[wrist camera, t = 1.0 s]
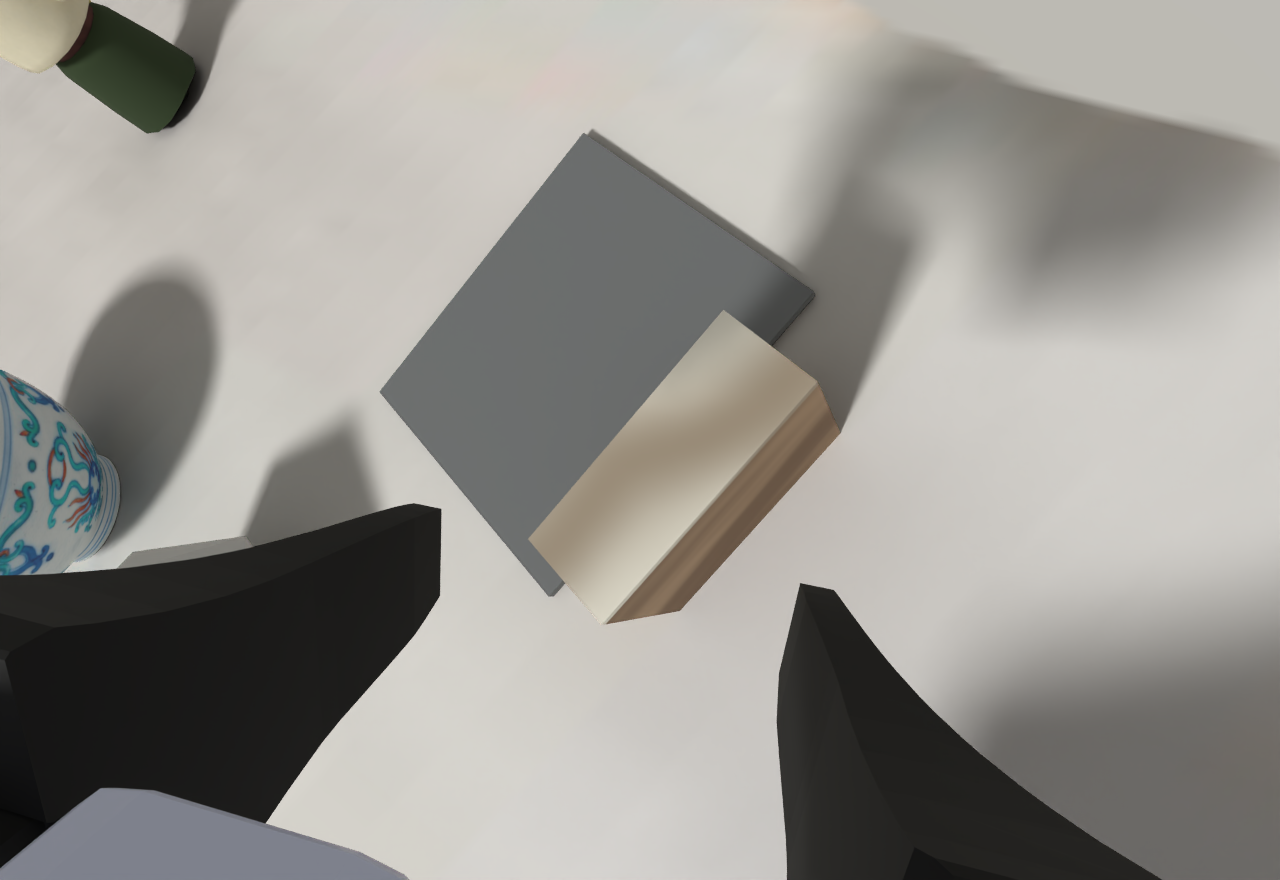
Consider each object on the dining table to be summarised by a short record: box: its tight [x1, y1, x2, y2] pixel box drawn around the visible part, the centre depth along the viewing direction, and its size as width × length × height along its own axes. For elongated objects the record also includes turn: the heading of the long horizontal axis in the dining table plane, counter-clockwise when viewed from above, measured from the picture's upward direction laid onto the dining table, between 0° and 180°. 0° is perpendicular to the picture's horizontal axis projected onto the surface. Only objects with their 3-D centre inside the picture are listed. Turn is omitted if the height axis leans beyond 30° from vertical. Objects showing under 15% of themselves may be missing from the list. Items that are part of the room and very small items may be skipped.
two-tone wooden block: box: [528, 310, 840, 625], centre depth 21 cm, size 4×9×7 cm, turn 137°
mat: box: [380, 133, 815, 596], centre depth 28 cm, size 14×16×1 cm
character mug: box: [0, 0, 196, 133], centre depth 39 cm, size 11×7×13 cm, turn 80°
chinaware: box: [0, 370, 120, 575], centre depth 36 cm, size 15×15×8 cm
